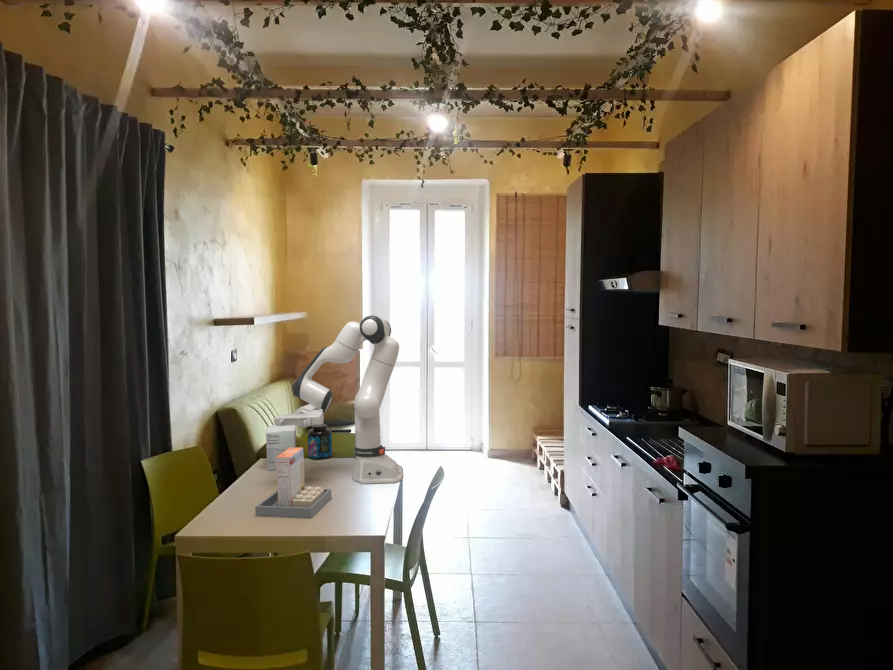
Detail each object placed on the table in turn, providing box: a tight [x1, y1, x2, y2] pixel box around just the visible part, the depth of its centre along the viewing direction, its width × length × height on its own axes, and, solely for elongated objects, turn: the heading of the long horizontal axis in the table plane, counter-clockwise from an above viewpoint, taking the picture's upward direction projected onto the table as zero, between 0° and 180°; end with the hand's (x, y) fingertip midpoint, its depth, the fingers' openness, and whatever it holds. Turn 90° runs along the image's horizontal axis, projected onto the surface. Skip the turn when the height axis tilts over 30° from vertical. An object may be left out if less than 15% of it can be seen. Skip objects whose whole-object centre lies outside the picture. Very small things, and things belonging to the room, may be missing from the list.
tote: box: [254, 488, 332, 519], centre depth 224 cm, size 21×22×4 cm
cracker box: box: [275, 446, 306, 507], centre depth 225 cm, size 14×6×21 cm, turn 173°
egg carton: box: [293, 485, 325, 508], centre depth 223 cm, size 7×14×6 cm, turn 172°
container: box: [307, 423, 333, 460], centre depth 299 cm, size 12×12×16 cm
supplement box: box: [265, 424, 297, 471], centre depth 286 cm, size 17×13×18 cm
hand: (292, 423), depth 244 cm, fingers open, 8 cm apart
